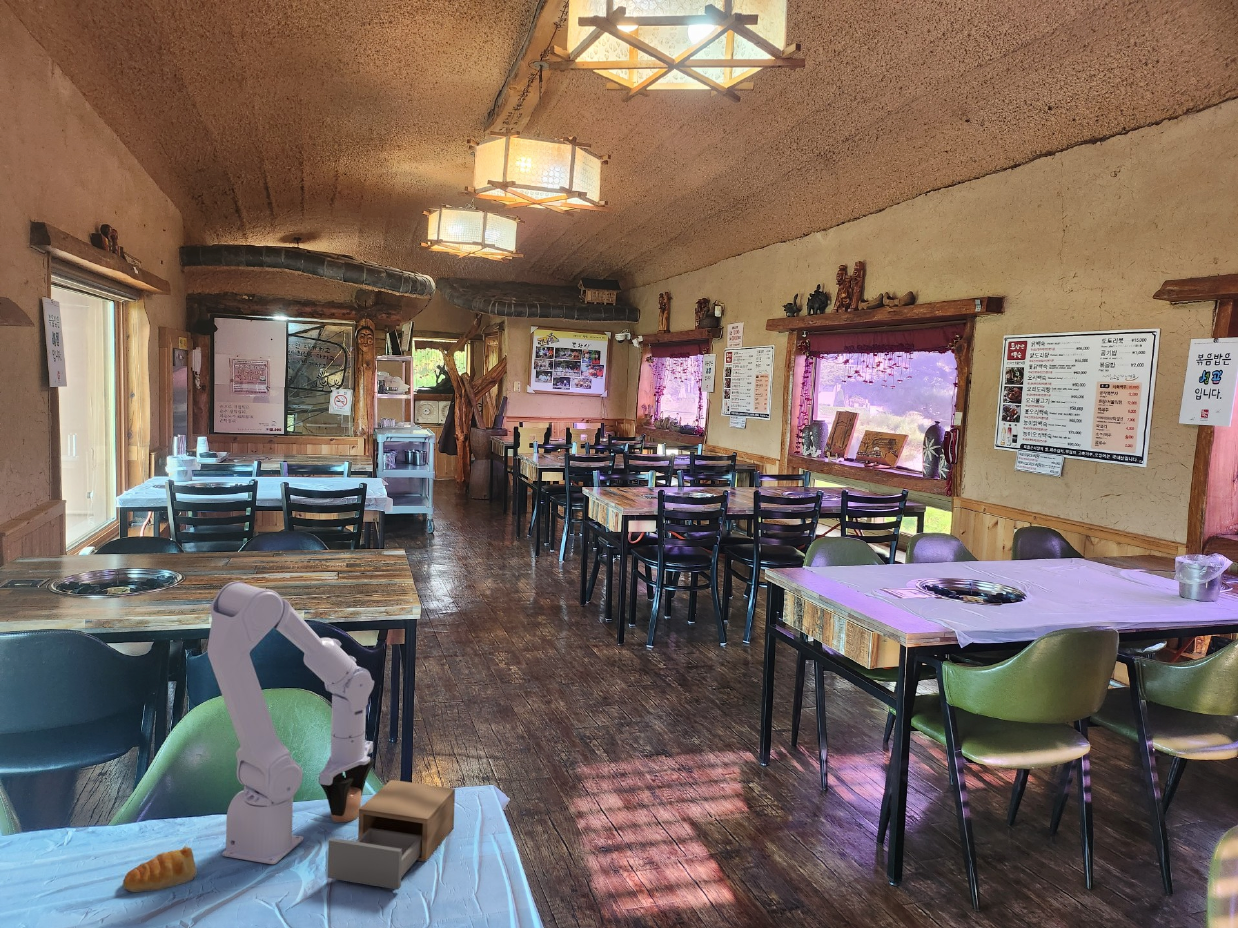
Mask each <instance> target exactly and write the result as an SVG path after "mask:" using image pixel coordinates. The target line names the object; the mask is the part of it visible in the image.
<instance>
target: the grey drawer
mask: <svg viewBox="0 0 1238 928" xmlns="http://www.w3.org/2000/svg"><path fill="white" fill-rule="evenodd" d="M327 851H328V854H327V855H328V858H327V878H328V879H332V880H339V881H345V882H351V883H355V884H356V883H358V884H361V885H362V884H363V885H368V886H374V887H381V888H387V889H393V890H400V888H401V886H402V877H403V876H404V875H405V874H406V873H407V872H408V870H409V869H410V868H411V867H412V865H413V864H415V862H416V861H418V860H417V858H418V857H419V856H420V855H421V854H422V836H419V835H413V834H406V833H400V832H393V831H387V830H380V829H374V828H369V829H368V830H367V831H366V832H365V833H364V834H363V835H361V836H360V837H359V838H358V837H357V839H356V840H355V841H353V840H348V839H341V838H335V837H331V838H329V840H328V850H327Z"/></svg>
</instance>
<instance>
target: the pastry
mask: <svg viewBox="0 0 1238 928" xmlns="http://www.w3.org/2000/svg"><path fill="white" fill-rule="evenodd" d="M193 853H194V852H193V849H192V847H188V846H184V847H182V849H177V850H170V851H168V852H166V851H165V852H161V853H159V854H157V855H156V856H155V857H154V858H152V859H150V860H148V861H146V862H142V863H140V864H138V865H137V866H136V867H134V868H132V869H130V870H129V871H127V873H126V875H124V879H123V881H122V882H123V883H122V888H124V889H126V891H129V892H131V893H140V892H149V891H160V890H163V889H167V888H170V887H174V886H179V885H182V884H185V883H188V882H191V881H192V880H194V879H195V876H196V875H197V865H196V862H195V860H194V859H195V858H194V854H193Z"/></svg>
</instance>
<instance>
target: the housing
mask: <svg viewBox="0 0 1238 928" xmlns="http://www.w3.org/2000/svg"><path fill="white" fill-rule="evenodd" d="M455 797H456V788H452V787H444V786H437V785H431V784H423V783H417V782H409V781H402V780H394V779H391V780H389V781H388V782H387V783H386V784H385V785H384V786H383V787H381V788H380V789H379V790H378V791H377V792H376V793H375V794H373V795H372V797H370V798H369V799H368V800H367V801H366V802H365V803H364V804H363V805H361V808H359V817H358V831H357V832H358V834H357V839H358V838H359V837H360V836H361V835H363V834H364V833H365V832H366V831H367V830H368V829H369V828H374V829H380V830H387V831H393V832H400V833H406V834H413V835H419V836H422V854H421V855H420V856H419V857H418V858H417V860H416V861H421V862H426V863H427V861H429V859H430V858H431V857H432V855H433V854H434V853H435V851H436V850H437V849H438V848H439V847H440V845H441V844H442V843H443V842H444V840H445V839H446V838H447V837H448V835H449V834H450V833H451V832H452V830H453V829H454V823H455V799H456V798H455ZM438 846H439V847H438Z"/></svg>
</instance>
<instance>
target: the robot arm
mask: <svg viewBox="0 0 1238 928" xmlns="http://www.w3.org/2000/svg"><path fill="white" fill-rule="evenodd" d="M208 608H209V612H210V615H211V624H210V628H209V629H210V630H209V637H208V643H207V650H206V651H207V657H208V659H209V662H210V664H211V665H210V666H211V667H212V668H211V669H212V671H213V673H214V676H215V679H216V681H217V684H218V687H219V690H220V693H221V695H222V698H223V701H224V704H225V706H226V708H227V712H228V714H229V718H230V721H231V723H232V726H233V729H234V731H235V734H236V738H237V739H238V740H237V741H238V743H239V745H240V747H239V748H238V749H237V750H236V752H235V757H236V760H237V766H236V778H237V780H238V782H239V783H240V784H241V785H242V786H243V790H241V791H239V792H237V794H235V795H234V797H232V799H231V801H230V804H229V805H228V809H227V813H226V828H225V829H226V832H225V835H226V836H225V837H226V838H225V850H224V851H223V852H222V856H223V857H227V858H232V859H240V860H244V861H251V862H257V863H263V864H269V865H275V864H277V863H278V862H280V860H281V859H282V858H284V857H285V856H286V855H287V854H288V853H290V852H291V851H292V850H293V849H295V848H296V847H297V846H298V845H299V844H300V843H302V842H303V840H304V836H301V835H295V834H293V817H294V815H293V813H294V812H293V811H294V810H293V809H294V808H293V807H294V798H295V794H296V793H297V792H298V790H299V788H300V787H301V785H302V781H303V777H304V772H303V768H302V766H301V765H300V764H299V763H298V762H296V761H295V760H294V759H293V758H292V755H291V752H290V750H289V749H288V748H287V747H286V746H285V745H284V743H283V742H282V740H280V738H279V737H278V735H277V731H276V729H275V726H274V724H273V720H272V717H271V714H270V711H269V708H268V705H267V702H266V699H265V697H264V694H263V689H262V687H261V685H260V682H259V679H258V676H257V673H256V669H255V667H254V664H253V661H252V658H251V656H250V655H251V654H250V653H251V651H252V650H253V649H254V648H255V647H256V646H257V645H258V644H259V643H260V641H262V640H263V638H265V636H266V635H267V634H268V633H269V632H270V631H271V630H272V629H274V630H277V632H279V634H281V635H283V636H284V637H285V638H286V639H287V640H288V641H289V642H291V643H292V644H294V646H295V647H297V648H298V649H299V650H301V651H302V652H303V653H304V655H303V663H304V665H305V666H306V667H307V668H308V669H309V670H310V671H312V673H314V675H316V676H317V677H318V678H319V679H320V680H321V681H322V682H324V687H325V691H327V692H329V693H331V694H332V695H331V697H332V698H331V729H330V756H329V758H328V760H327V762H326V764H325V765H324V768H323V769H322V770H321V771H320V772H319V775H318V785H320V787H321V788H322V790H323V792H324V793H325V796H326V800H327V802H328V806H329V810H330V816H331V815H336V816H343V815H344V812H345V808H346V800H347V794H348V791H349V788H350V787H357V788H359V789H360V790H361V797H362V796H363V792H364V788H365V785H366V781H367V778H368V775H369V773H370V771H371V770H372V768H373V766H374V764H375V759H374V758H373V757H370V756H368V755H369V754H371V753H373V752H374V751H373V750H374V744H373V743H374V742H373V741H369V740H366V719H367V718H366V715H367V714H366V713H367V705H368V704H369V697H370V695H371V693H372V691H373V690H374V685H375V680H373V679H372V676H371V673H370V671H369V670H368V669H367V668H364V667H361V666H358V665H357V663H356V662H357V659H356V657H354V656H352V655H349V654H347V653H346V652H345V651H344V650H343V649H342V648H341V646H342V643H341V641H340V640H339V639H337V638H330V637H319V635H318V634H317V633H316V632H315V631H314V630H313V629H312V628H311V626H309V624H308V623H307V622H306V621H305V620H304V618H302V616H300V614H299V613H298V612H297V611H296V610H295V609H294V607H292V605H291V603H290V602H289V601H288V600H286V599H285V598H282V597H281V595H280V593H278V592H277V591H275V590H272V589H267V588H261V587H258V586H254V585H250V584H248V583H246V582H244V581H237V580H236V581H231V582H228V583H227V584H224V586H223V587H222V588H220V590H219V591H218V592H217V594H216V596H215V597H214V598H213V601H211V603H210V604H209V607H208Z"/></svg>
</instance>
